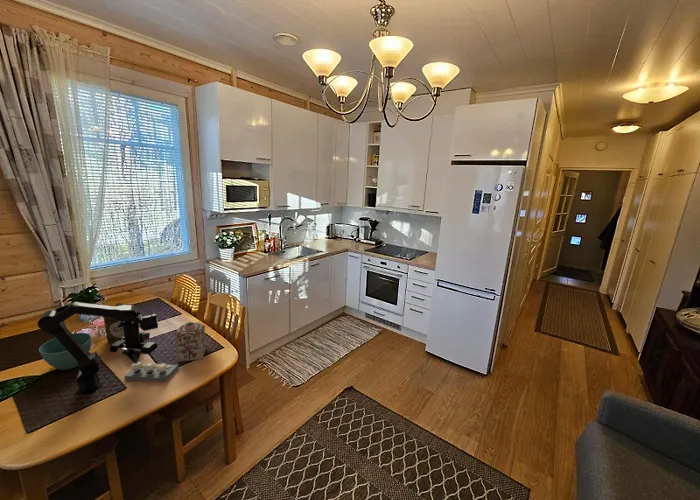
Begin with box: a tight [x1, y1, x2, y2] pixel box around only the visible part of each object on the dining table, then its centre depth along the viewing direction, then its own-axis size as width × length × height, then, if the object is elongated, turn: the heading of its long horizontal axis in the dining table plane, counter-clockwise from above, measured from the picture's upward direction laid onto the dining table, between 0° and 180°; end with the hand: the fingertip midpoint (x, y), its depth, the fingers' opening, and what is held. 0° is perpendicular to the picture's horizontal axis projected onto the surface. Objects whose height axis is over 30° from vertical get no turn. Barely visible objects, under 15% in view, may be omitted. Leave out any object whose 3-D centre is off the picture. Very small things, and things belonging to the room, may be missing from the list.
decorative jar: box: [175, 321, 207, 363], centre depth 156 cm, size 12×12×18 cm
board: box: [124, 362, 179, 383], centre depth 142 cm, size 10×19×2 cm, turn 88°
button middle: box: [144, 362, 155, 373], centre depth 139 cm, size 4×4×4 cm
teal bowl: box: [38, 332, 92, 371], centre depth 144 cm, size 18×18×12 cm
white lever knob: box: [157, 362, 168, 374], centre depth 139 cm, size 4×4×4 cm
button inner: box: [130, 361, 143, 372], centre depth 139 cm, size 4×4×4 cm
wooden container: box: [102, 302, 140, 346], centre depth 167 cm, size 15×15×22 cm
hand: (136, 363), depth 139 cm, fingers closed
